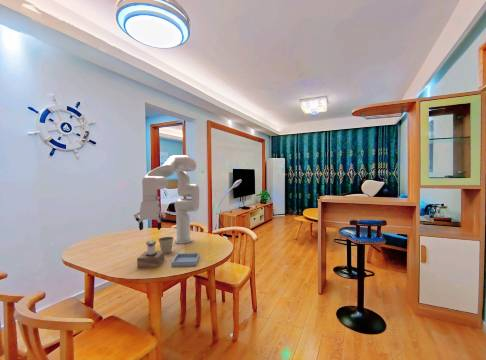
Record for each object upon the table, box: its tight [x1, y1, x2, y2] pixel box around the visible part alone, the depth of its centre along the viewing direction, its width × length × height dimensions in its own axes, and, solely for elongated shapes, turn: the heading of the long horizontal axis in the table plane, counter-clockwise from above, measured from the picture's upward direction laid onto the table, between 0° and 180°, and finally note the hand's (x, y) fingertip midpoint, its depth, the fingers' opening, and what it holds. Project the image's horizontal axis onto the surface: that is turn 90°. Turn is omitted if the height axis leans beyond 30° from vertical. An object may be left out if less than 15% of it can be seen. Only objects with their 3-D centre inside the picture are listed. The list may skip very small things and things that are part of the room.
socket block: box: [136, 250, 165, 269], centre depth 127 cm, size 11×11×5 cm
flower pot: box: [157, 236, 175, 255], centre depth 145 cm, size 9×9×9 cm
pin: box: [145, 240, 157, 256], centre depth 127 cm, size 5×5×12 cm
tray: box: [171, 252, 200, 268], centre depth 129 cm, size 13×13×2 cm
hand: (150, 229), depth 126 cm, fingers open, 9 cm apart
